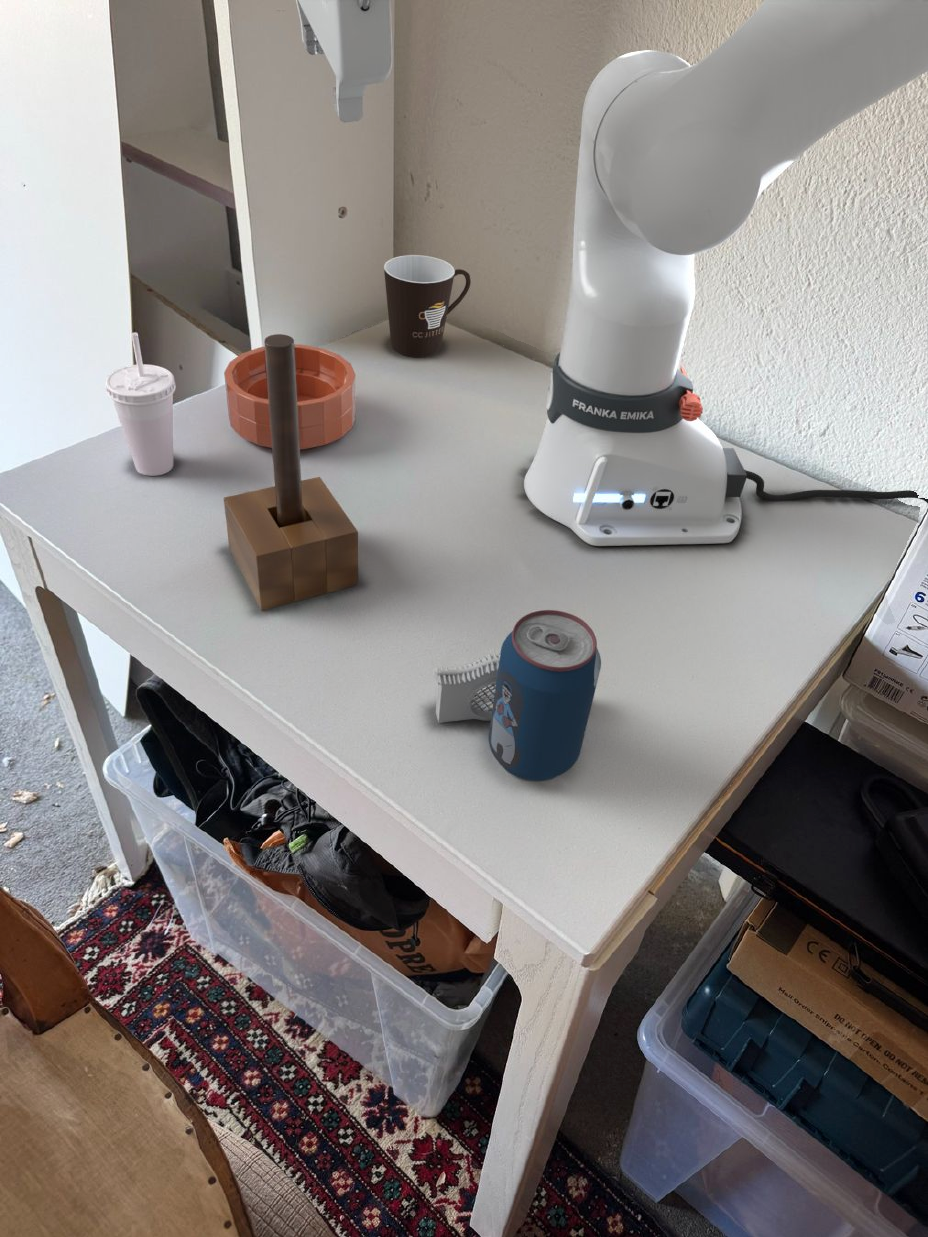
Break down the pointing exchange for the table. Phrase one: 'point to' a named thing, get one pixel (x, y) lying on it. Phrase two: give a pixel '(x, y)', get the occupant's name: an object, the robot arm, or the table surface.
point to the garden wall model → (466, 690)
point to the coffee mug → (419, 302)
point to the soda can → (543, 695)
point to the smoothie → (145, 412)
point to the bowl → (319, 396)
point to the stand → (292, 545)
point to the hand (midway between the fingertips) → (331, 82)
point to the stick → (284, 427)
